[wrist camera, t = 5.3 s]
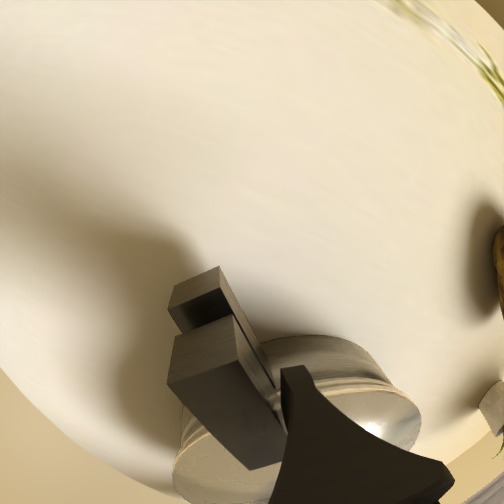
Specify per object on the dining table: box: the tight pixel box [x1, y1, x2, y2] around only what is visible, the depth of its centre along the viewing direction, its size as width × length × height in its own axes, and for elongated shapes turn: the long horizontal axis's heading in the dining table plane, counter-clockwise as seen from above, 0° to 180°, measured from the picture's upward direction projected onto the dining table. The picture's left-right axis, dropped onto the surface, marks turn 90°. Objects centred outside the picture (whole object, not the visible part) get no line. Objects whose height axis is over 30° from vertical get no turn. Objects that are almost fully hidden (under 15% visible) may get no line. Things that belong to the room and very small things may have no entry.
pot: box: [167, 266, 398, 451], centre depth 16 cm, size 22×16×5 cm
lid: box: [167, 314, 421, 504], centre depth 13 cm, size 22×17×3 cm
